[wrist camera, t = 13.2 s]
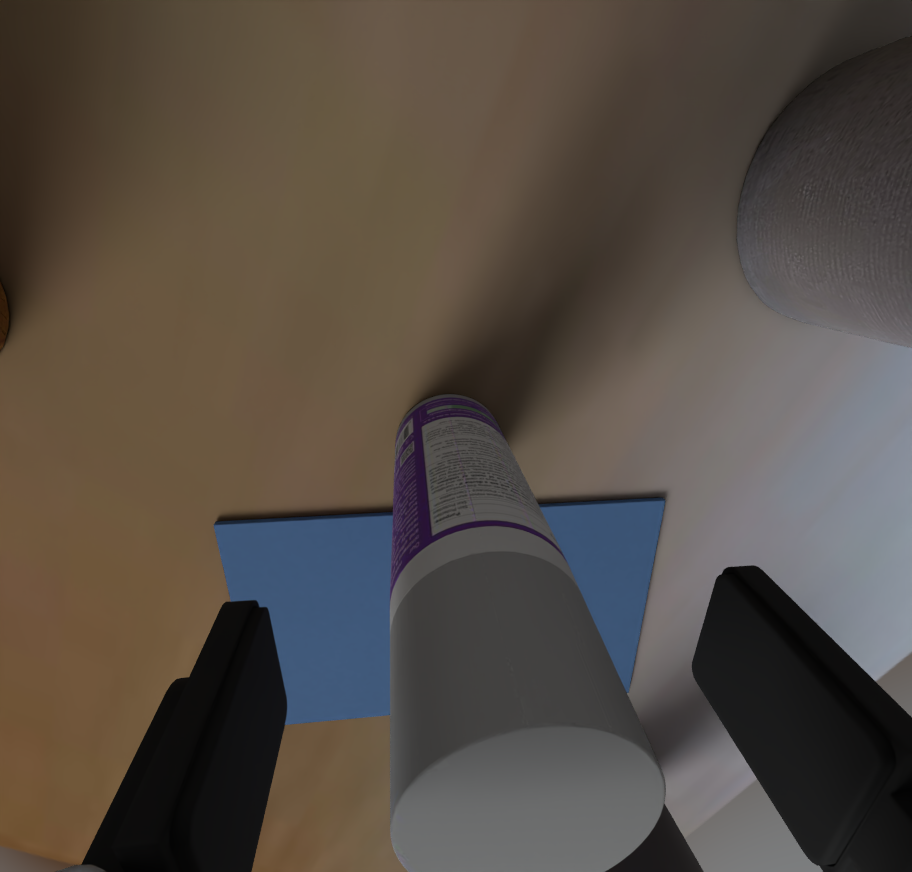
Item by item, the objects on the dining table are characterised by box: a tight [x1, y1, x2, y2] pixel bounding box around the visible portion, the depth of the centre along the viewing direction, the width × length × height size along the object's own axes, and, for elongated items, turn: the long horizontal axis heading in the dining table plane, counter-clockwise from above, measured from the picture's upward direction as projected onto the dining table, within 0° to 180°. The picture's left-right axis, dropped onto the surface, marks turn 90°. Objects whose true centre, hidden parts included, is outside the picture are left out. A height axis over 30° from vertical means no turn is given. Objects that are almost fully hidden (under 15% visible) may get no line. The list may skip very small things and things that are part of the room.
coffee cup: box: [605, 804, 703, 872], centre depth 27 cm, size 8×8×10 cm
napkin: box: [214, 498, 665, 725], centre depth 25 cm, size 13×21×1 cm, turn 90°
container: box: [390, 394, 666, 872], centre depth 15 cm, size 5×5×15 cm
